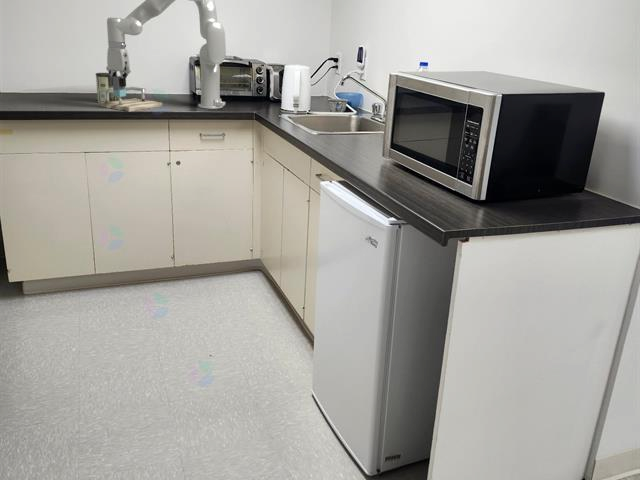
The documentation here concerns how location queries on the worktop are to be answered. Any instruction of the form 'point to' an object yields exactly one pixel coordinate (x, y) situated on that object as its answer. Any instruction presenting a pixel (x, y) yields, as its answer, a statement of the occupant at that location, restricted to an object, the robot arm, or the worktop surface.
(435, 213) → the worktop surface
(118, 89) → the block
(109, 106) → the hole plate
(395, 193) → the worktop surface
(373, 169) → the worktop surface
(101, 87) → the coffee can
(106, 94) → the divider frame
